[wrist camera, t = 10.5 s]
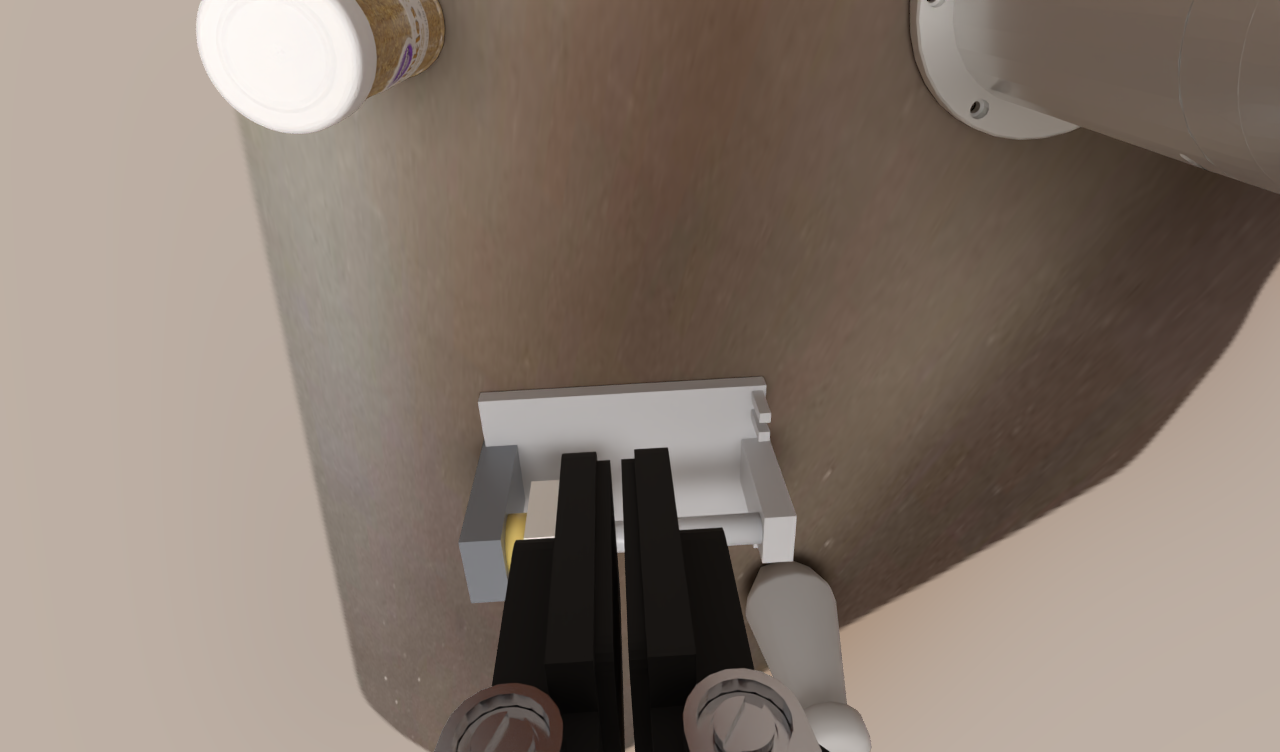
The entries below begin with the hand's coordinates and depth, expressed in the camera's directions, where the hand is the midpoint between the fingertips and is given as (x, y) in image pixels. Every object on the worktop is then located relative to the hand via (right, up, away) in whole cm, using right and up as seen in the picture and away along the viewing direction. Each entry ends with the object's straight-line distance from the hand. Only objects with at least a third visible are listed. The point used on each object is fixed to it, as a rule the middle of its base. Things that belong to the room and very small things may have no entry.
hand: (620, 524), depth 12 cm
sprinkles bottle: (-10, +18, +21) cm, 29 cm away
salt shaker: (+10, -11, +38) cm, 41 cm away
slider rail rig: (0, -3, +32) cm, 33 cm away
